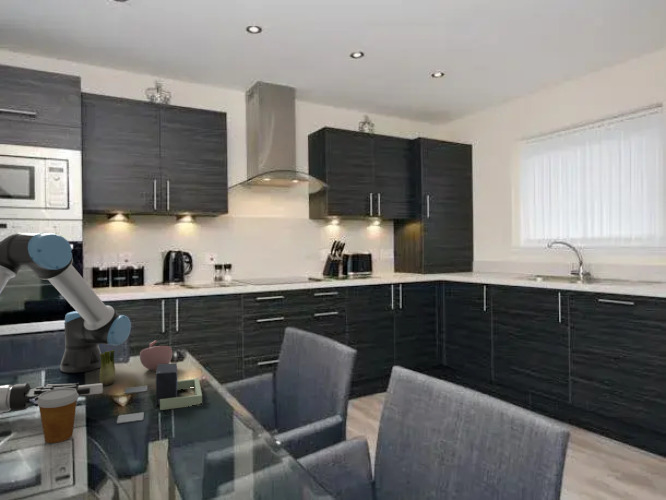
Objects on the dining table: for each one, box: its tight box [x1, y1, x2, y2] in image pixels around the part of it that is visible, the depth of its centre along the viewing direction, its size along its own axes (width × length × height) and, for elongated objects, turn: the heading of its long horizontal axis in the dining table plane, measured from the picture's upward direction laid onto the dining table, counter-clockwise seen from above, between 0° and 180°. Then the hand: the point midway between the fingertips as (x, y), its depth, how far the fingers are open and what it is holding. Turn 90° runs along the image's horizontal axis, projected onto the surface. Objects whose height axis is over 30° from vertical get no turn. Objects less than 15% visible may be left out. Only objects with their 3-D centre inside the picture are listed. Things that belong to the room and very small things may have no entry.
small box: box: [155, 362, 178, 406], centre depth 145 cm, size 11×6×10 cm, turn 19°
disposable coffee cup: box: [37, 388, 79, 444], centre depth 117 cm, size 10×10×12 cm
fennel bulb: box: [99, 350, 116, 386], centre depth 158 cm, size 6×5×12 cm
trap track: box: [116, 378, 203, 425], centre depth 144 cm, size 30×24×3 cm
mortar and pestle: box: [139, 340, 173, 371], centre depth 175 cm, size 12×12×12 cm
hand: (102, 388), depth 137 cm, fingers closed
